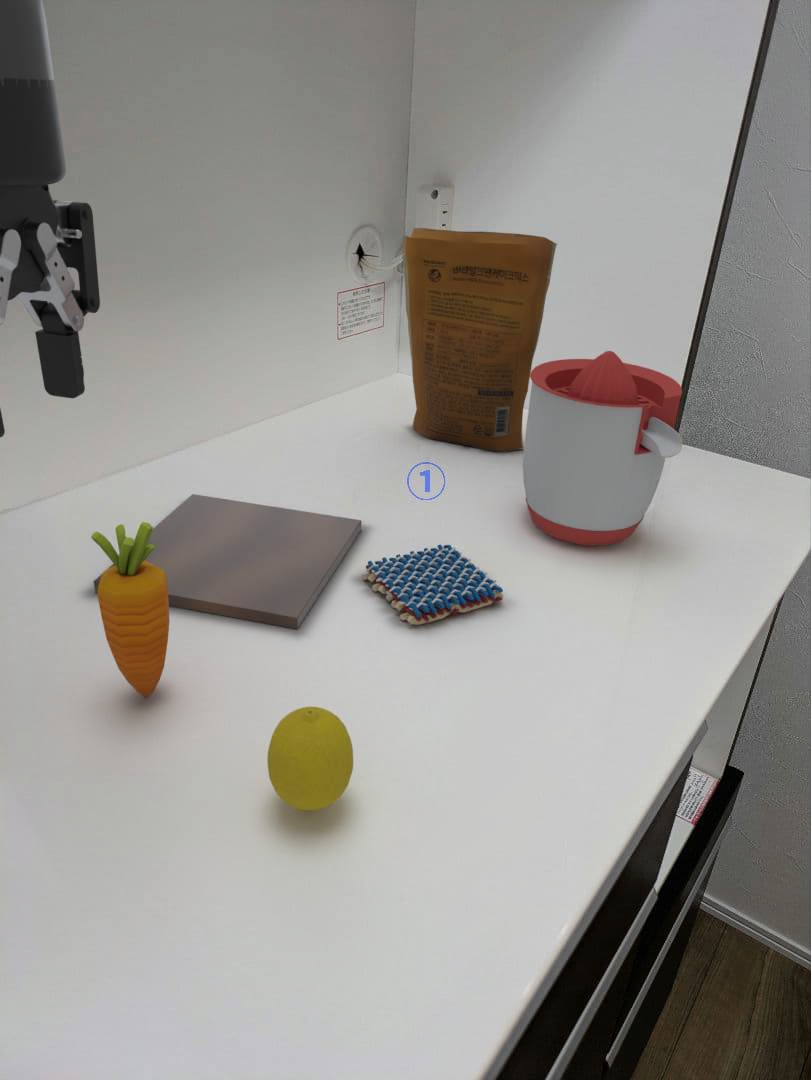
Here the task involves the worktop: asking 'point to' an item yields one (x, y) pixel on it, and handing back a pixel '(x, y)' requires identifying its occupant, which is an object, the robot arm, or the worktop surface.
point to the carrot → (134, 608)
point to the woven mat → (432, 584)
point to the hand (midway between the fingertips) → (26, 414)
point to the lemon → (310, 758)
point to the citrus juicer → (596, 446)
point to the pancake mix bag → (474, 331)
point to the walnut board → (248, 558)
